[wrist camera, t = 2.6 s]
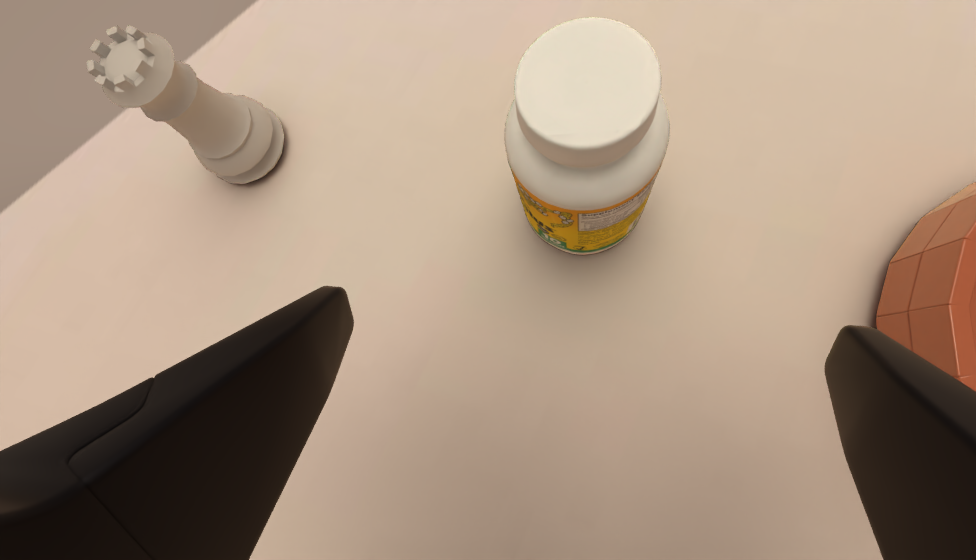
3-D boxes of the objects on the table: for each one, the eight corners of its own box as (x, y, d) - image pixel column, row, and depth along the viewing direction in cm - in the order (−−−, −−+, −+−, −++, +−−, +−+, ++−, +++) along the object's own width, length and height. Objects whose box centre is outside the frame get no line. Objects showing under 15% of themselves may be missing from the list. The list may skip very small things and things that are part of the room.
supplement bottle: (661, 231, 22) (726, 128, 12) (547, 274, 22) (528, 205, 13) (614, 128, 23) (642, -37, 14) (507, 171, 24) (464, 41, 14)
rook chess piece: (198, 157, 27) (44, 71, 19) (250, 94, 27) (119, -18, 19) (251, 203, 26) (111, 131, 18) (305, 137, 26) (190, 37, 18)
